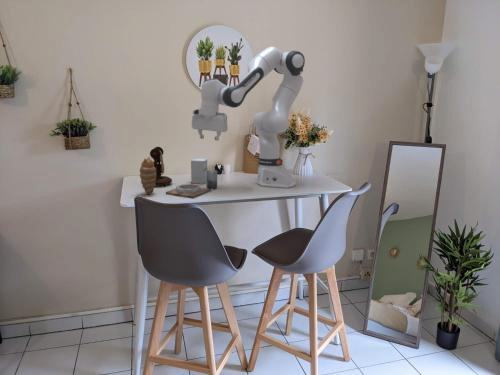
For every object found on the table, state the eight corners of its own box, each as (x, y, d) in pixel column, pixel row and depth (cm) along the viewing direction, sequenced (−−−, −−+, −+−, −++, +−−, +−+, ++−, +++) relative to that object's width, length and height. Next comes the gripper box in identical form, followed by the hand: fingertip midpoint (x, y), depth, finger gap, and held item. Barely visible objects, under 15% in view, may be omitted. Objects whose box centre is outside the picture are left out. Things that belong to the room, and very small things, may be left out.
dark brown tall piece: (169, 188, 206) (167, 149, 201) (140, 187, 206) (138, 149, 201) (174, 181, 220) (173, 145, 215) (147, 181, 220) (146, 145, 215)
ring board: (210, 191, 201) (210, 185, 200) (192, 198, 187) (192, 192, 186) (184, 187, 208) (184, 181, 207) (165, 194, 194) (165, 188, 193)
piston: (219, 187, 209) (219, 170, 207) (213, 189, 204) (213, 172, 202) (210, 186, 211) (210, 169, 209) (204, 188, 206) (204, 171, 204)
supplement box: (203, 183, 216) (203, 161, 213) (190, 183, 217) (190, 160, 214) (207, 180, 223) (207, 158, 220) (195, 180, 224) (195, 158, 221)
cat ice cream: (145, 191, 198) (143, 155, 194) (160, 192, 197) (158, 156, 192) (137, 195, 190) (135, 158, 185) (152, 197, 188) (151, 159, 184)
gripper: (230, 113, 196) (229, 140, 199) (197, 110, 206) (197, 137, 209) (223, 113, 191) (222, 141, 194) (190, 110, 201) (189, 137, 204)
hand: (209, 139), depth 202 cm, fingers open, 8 cm apart
